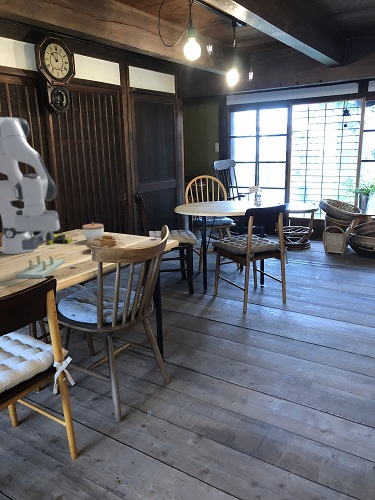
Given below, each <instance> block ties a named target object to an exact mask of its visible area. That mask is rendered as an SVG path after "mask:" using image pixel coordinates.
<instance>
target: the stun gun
mask: <svg viewBox="0 0 375 500" xmlns="http://www.w3.org/2000/svg"><path fill="white" fill-rule="evenodd" d="M71 243H73V238H66V234H63V233H59V234H56V233H54V239H53V240H51V241H47V242H46V244H47V245H49V246H51V245H54V244H71Z"/></svg>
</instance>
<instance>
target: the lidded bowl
mask: <svg viewBox="0 0 375 500" xmlns="http://www.w3.org/2000/svg"><path fill="white" fill-rule="evenodd" d="M81 229H82V233H83V236H84V238H85V239H86V240H87V241H88V240H89V239H90V238H93V237H95V236H98V235H104V233H105V232H104V229H105V228H104V224H102V223H95V222H91V223H89V224H83V225H82V227H81Z"/></svg>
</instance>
